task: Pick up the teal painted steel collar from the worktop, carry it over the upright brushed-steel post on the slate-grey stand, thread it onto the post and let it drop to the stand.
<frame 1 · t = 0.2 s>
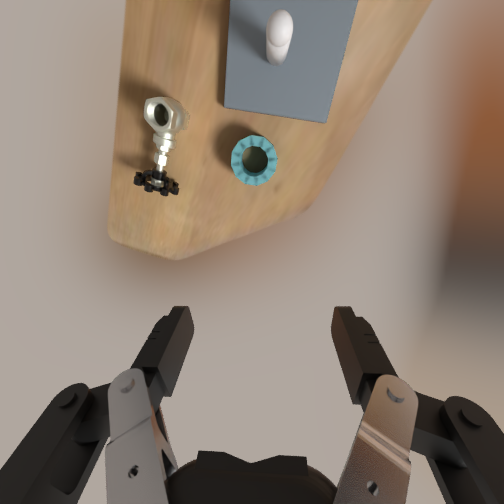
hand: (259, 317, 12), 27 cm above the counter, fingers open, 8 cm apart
valve: (173, 145, 33), on the counter
post stand: (275, 59, 27), on the counter
collar: (255, 158, 33), on the counter
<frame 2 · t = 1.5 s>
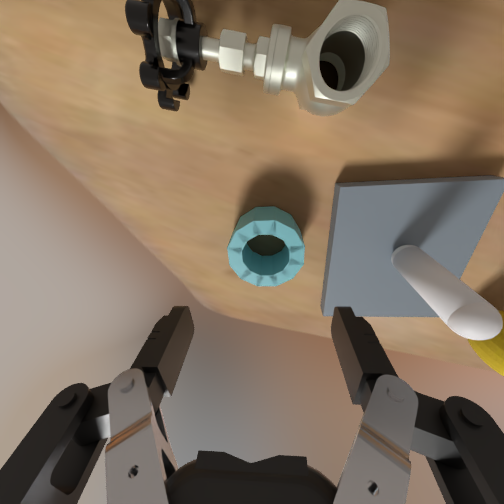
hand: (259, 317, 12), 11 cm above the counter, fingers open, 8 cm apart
lemon: (475, 312, 24), on the counter
valve: (264, 74, 15), on the counter
post stand: (392, 244, 21), on the counter
collar: (266, 238, 21), on the counter
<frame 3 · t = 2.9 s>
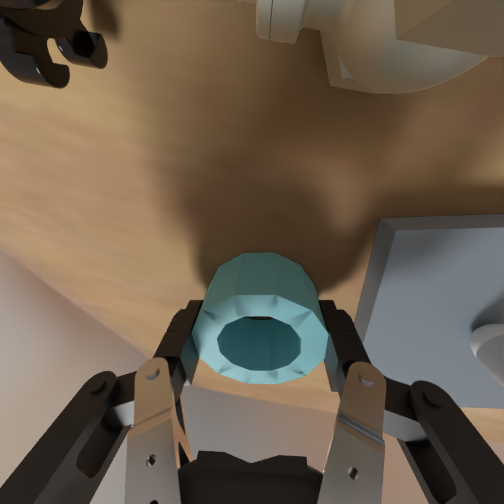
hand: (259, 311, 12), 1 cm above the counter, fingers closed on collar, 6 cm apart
valve: (260, 13, 7), on the counter
post stand: (461, 309, 13), on the counter
collar: (260, 297, 13), on the counter, touching gripper
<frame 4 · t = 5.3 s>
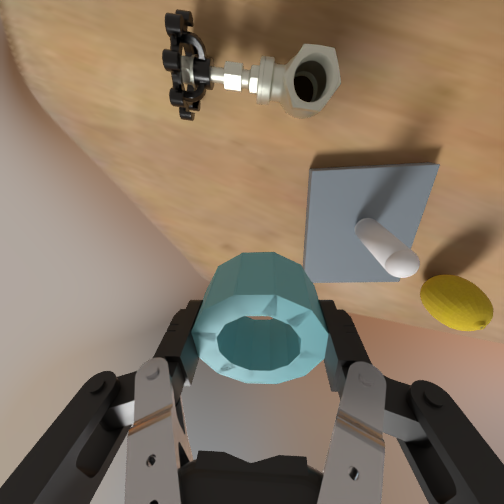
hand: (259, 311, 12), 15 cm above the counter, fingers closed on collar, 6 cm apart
lemon: (429, 279, 29), on the counter
valve: (257, 87, 20), on the counter
post stand: (357, 220, 25), on the counter
collar: (260, 296, 13), point 14 cm above the counter, touching gripper
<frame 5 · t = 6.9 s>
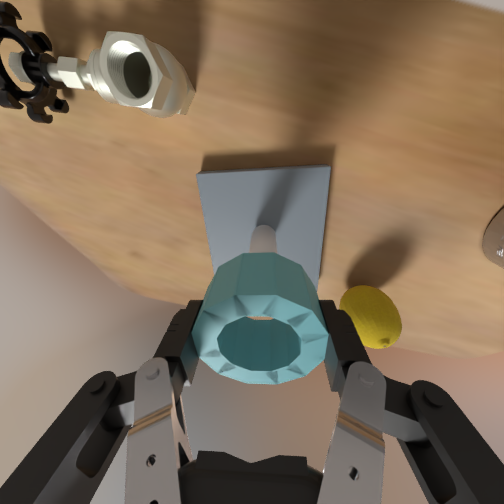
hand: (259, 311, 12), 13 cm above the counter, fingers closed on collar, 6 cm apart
lemon: (354, 289, 27), on the counter
valve: (129, 85, 18), on the counter
post stand: (264, 226, 23), on the counter
collar: (260, 297, 13), point 11 cm above the counter, touching gripper
when the fingers open (10 cm above the counter, at t = 8.0 s): collar drops 7 cm, resting on post stand.
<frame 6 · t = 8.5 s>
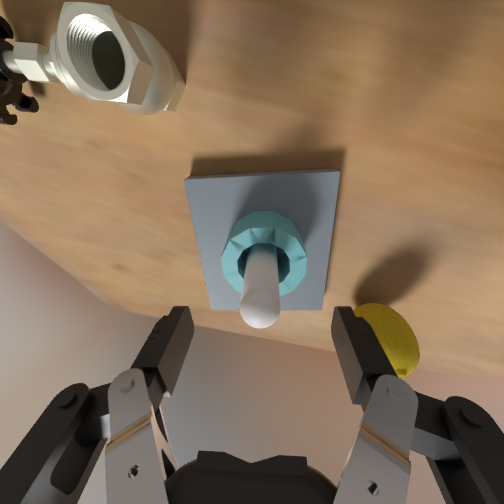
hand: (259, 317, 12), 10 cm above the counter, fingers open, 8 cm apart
lemon: (362, 305, 24), on the counter
valve: (107, 79, 16), on the counter
post stand: (262, 237, 21), on the counter
collar: (264, 245, 19), point 1 cm above the counter, touching post stand
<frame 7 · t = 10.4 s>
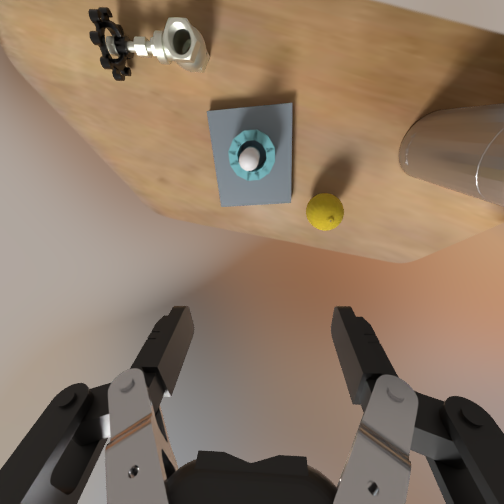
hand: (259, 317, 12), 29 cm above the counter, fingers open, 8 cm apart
lemon: (318, 203, 38), on the counter
valve: (168, 56, 29), on the counter
post stand: (252, 153, 34), on the counter
collar: (253, 154, 33), point 1 cm above the counter, touching post stand
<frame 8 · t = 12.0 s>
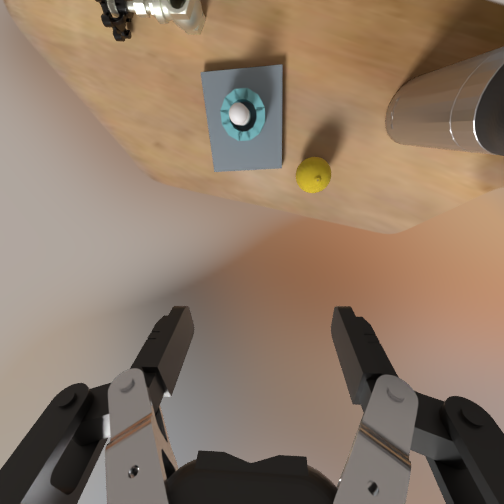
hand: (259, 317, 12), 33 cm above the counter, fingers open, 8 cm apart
lemon: (308, 171, 39), on the counter
valve: (166, 19, 30), on the counter
post stand: (244, 117, 35), on the counter
collar: (245, 117, 34), point 1 cm above the counter, touching post stand
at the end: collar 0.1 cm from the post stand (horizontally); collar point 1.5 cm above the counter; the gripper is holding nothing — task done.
